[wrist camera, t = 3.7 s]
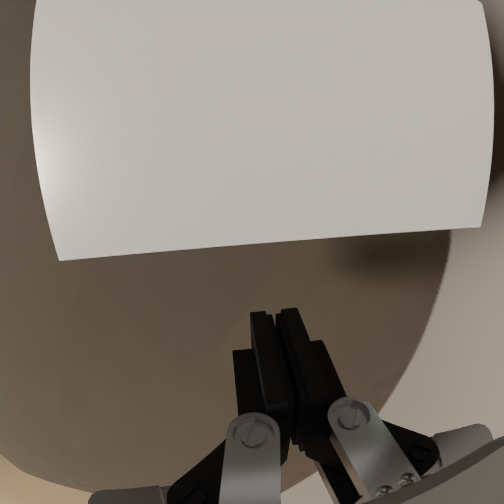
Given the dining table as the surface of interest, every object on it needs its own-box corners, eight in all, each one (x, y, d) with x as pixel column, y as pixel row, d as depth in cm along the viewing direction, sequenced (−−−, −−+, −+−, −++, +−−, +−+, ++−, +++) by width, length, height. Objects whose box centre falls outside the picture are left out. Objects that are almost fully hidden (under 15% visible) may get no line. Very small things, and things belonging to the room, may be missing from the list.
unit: (154, 58, 11) (43, -32, 2) (324, 53, 11) (480, -4, 2) (161, 168, 13) (64, 276, 4) (325, 159, 14) (477, 239, 5)
